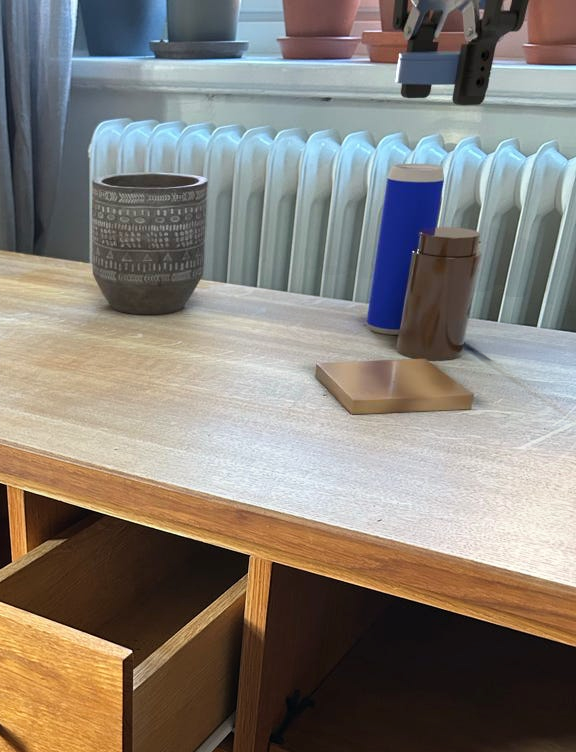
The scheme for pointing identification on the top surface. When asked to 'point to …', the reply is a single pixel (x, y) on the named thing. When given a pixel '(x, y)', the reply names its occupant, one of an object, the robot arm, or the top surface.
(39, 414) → the top surface
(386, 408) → the plate
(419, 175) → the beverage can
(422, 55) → the jar lid
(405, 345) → the jar
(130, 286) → the planter
